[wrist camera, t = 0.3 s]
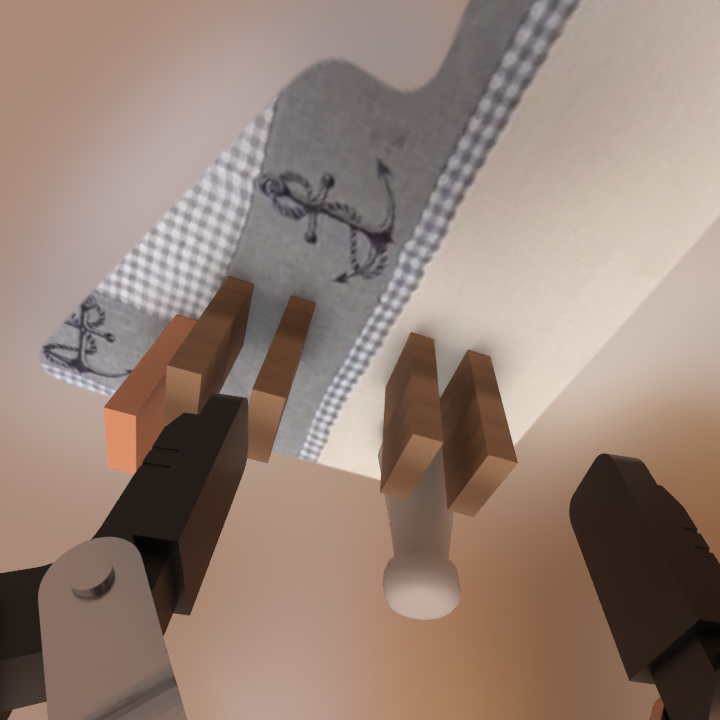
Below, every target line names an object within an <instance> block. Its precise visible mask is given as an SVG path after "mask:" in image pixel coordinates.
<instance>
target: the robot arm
mask: <svg viewBox="0 0 720 720" xmlns="http://www.w3.org/2000/svg"><path fill="white" fill-rule="evenodd" d="M247 455H248V400H247V398H243V397H237V396H230V395H224V394H217V393H213V394H211V396H210V397H209V399H208V400H207V402H206V404H205V406H204V407H203V409H202V411H201V413H200V415H198V414H192V413H185V412H184V413H183V414H181V415H180V416H179V417H177V418H176V419H175V420H173V421H172V422H171V423H169V424H168V425H167V426H165V427H164V429H163V430H162V432H161V433H160V435H159V436H158V438H157V440H156V441H155V443H154V444H153V446H152V450H150V451H149V452H148V454H147V455H146V457H145V458H144V460H143V462H142V466H139V468H138V469H137V471H136V473H135V474H134V476H133V477H132V479H131V480H130V482H129V484H128V485H127V487H126V488H125V490H124V491H123V493H122V495H121V496H120V498H119V500H118V501H117V502H116V504H115V506H114V507H113V509H112V510H111V512H110V514H109V515H108V517H107V518H106V520H105V521H104V523H103V525H102V526H101V528H100V529H99V530H98V532H97V533H96V534H95V535H94V537H93V538H92V539H91V540H89V541H85V542H83V543H81V544H79V545H77V546H75V547H73V548H71V549H70V550H68V551H67V552H66V553H64V554H63V555H61V557H59V558H58V559H57V560H56V561H55V562H54V563H52V564H48V565H46V566H41V567H36V568H31V569H25V570H18V571H12V572H6V573H0V720H7V719H8V717H9V716H10V714H11V712H12V710H13V709H17V708H21V707H25V706H29V705H34V704H38V703H42V702H46V701H47V710H48V720H187V718H186V715H185V711H184V708H183V704H182V700H181V697H180V694H179V690H178V686H177V683H176V680H175V677H174V674H173V670H172V667H171V663H170V659H169V656H168V652H167V649H166V645H165V641H164V638H163V636H164V634H165V632H166V629H167V627H168V624H169V622H170V619H171V617H172V614H173V613H176V614H183V615H190V614H191V611H192V608H193V606H194V603H195V600H196V598H197V595H198V592H199V590H200V587H201V584H202V582H203V579H204V576H205V574H206V571H207V568H208V566H209V563H210V560H211V558H212V555H213V552H214V550H215V547H216V544H217V542H218V539H219V536H220V534H221V531H222V528H223V526H224V523H225V520H226V518H227V515H228V512H229V510H230V507H231V504H232V502H233V499H234V496H235V494H236V491H237V489H238V486H239V483H240V480H241V478H242V475H243V472H244V469H245V465H246V461H247ZM569 512H570V513H569V514H570V521H571V524H572V527H573V530H574V533H575V535H576V538H577V541H578V543H579V546H580V549H581V552H582V554H583V557H584V560H585V562H586V565H587V567H588V570H589V573H590V576H591V578H592V581H593V584H594V587H595V589H596V592H597V595H598V597H599V600H600V603H601V605H602V608H603V611H604V613H605V616H606V619H607V622H608V624H609V627H610V630H611V632H612V635H613V638H614V640H615V643H616V646H617V648H618V651H619V654H620V657H621V659H622V662H623V665H624V667H625V670H626V673H627V675H628V678H629V681H635V682H641V683H648V684H655V685H656V687H657V689H658V692H659V694H660V698H658V699H657V700H656V701H655V703H654V705H653V707H652V711H651V715H650V719H649V720H720V564H719V562H718V561H717V559H716V558H715V556H714V554H713V553H710V552H709V547H708V545H707V543H706V542H705V540H704V539H703V537H702V535H701V534H698V533H697V528H696V526H695V524H694V523H693V521H692V520H691V518H690V517H689V515H688V513H687V512H686V510H685V509H684V507H683V506H682V505H681V504H680V503H679V502H678V501H677V500H676V499H675V498H674V497H673V496H672V495H671V494H670V493H669V492H668V491H666V489H665V488H663V487H662V486H660V485H657V484H656V482H655V480H654V479H653V477H652V475H651V474H650V473H649V470H648V469H647V467H646V466H645V464H644V463H643V462H642V461H641V460H639V459H637V458H630V457H624V456H618V455H611V454H600V455H599V456H598V457H597V458H596V459H595V461H594V462H593V464H592V465H591V467H590V469H589V470H588V472H587V474H586V475H585V477H584V478H583V480H582V481H581V483H580V485H579V486H578V488H577V490H576V492H575V493H574V495H573V497H572V499H571V502H570V511H569Z"/></svg>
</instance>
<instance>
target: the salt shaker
mask: <svg viewBox="0 0 720 720" xmlns="http://www.w3.org/2000/svg"><path fill="white" fill-rule="evenodd" d="M382 450H383V442H382V444H381V447H380V450H379V454H378V458H379V464H380V470H381V469H382ZM385 498H386V504H387V510H388V516H389V523H390V530H391V536H392V543H393V550H394V557H393V558H391V559H390V560H389V562H388V564H387V566H386V568H385V571H384V576H383V588H384V595H385V598H386V601H387V604H388V605H389V606H390V607H391V608H392V609H393V610H394V611H396V612H397V613H399V614H400V615H403V616H406V617H409V618H412V619H424V620H428V619H436V618H441V617H443V616H445V615H447V614H449V613H450V612H451V611H452V610H453V609H454V608H455V607H456V606H457V605H458V603H459V602H460V594H461V593H460V592H461V589H460V582H459V576H458V572H457V568H456V566H455V564H454V563H452V562H451V561H450V560H449V559H448V557H449V548H450V539H451V529H452V520H453V511H449V510H447V499H446V488H445V476H444V465H443V454H442V446H441V447H440V449H439V450H438V452H437V454H436V455H435V457H434V458H433V460H432V461H431V463H430V465H429V466H428V468H427V469H426V471H425V473H424V474H423V476H422V477H421V479H420V480H419V482H418V484H417V485H416V487H415V488H414V490H413V491H412V493H411V495H410V496H409V498H408V499H403V498H399V497H395V496H392V495H388V494H385Z"/></svg>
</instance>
